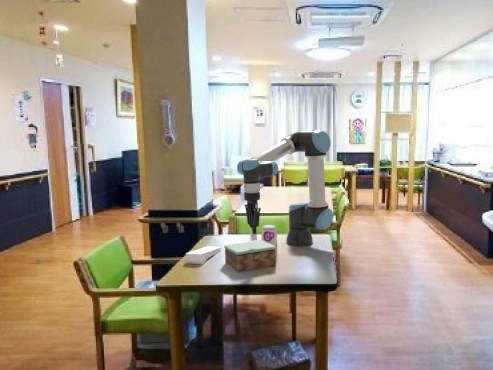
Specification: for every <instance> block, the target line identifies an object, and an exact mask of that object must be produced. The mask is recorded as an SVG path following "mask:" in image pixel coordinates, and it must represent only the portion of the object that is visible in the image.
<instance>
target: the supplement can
mask: <svg viewBox="0 0 493 370" xmlns="http://www.w3.org/2000/svg"><path fill="white" fill-rule="evenodd" d="M261 240H262V241H265V242H267V243H270V244H272V245H274V246H276V247H277V249H275V250H276V254H278V229H277V227H276V225H274V224H265V225H264V224H263V225H262V227H261Z"/></svg>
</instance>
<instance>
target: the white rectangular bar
mask: <svg viewBox="0 0 493 370" xmlns="http://www.w3.org/2000/svg"><path fill="white" fill-rule="evenodd" d="M221 249H222V246H210V245H208V246H204V247H201V248H197V249H195V250H191V251H189V252H186V253H185V262H186V263H187V264H190V265H191V264H194V265H203V264H204V263H205V262H207V260H208V259H210V257H211V256H214V255H216V254H218V253H220V251H221ZM186 263H185V264H186Z"/></svg>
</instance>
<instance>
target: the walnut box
mask: <svg viewBox="0 0 493 370" xmlns="http://www.w3.org/2000/svg"><path fill="white" fill-rule="evenodd" d="M224 255H225V256H224V257H225V258H224V261H225V262H224V263H225V265H227V266H228V267H229V268H231V269H232V270H234V271H235V272H236V273H238V274H240V273H243V272H248V271H255V270H256V271H257V270H261V269H267V268H273V267H277V256H276V255H277V253H276V250H275V249H272V250H266V251H259V252H253V253H246V254H240V255H237V254H235V253H233V252H231V251H229V250H228V249H226V248H224Z"/></svg>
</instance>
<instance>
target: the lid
mask: <svg viewBox="0 0 493 370" xmlns="http://www.w3.org/2000/svg"><path fill="white" fill-rule="evenodd" d="M223 246H224V247H223V248H224V249H225V248H226V249H228V250H229V251H231V252H233V253H235V254H237V255H240V254H246V253H253V252H259V251H266V250H272V249H277V250H278V246H277V247H276V246H274V245H272V244H270V243H267V242H265V241H262V239H260V240H259V239H257V240H254V241H244V242H239V243H230V244H226V245H223Z"/></svg>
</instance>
